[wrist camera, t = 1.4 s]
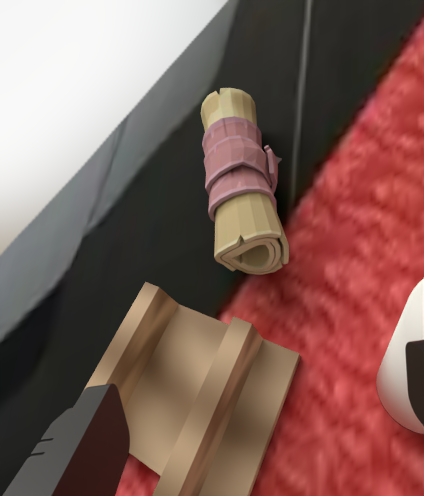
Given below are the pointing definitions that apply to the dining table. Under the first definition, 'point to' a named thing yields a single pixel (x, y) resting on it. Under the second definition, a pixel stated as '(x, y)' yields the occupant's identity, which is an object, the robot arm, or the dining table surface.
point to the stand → (196, 394)
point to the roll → (402, 363)
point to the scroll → (241, 186)
